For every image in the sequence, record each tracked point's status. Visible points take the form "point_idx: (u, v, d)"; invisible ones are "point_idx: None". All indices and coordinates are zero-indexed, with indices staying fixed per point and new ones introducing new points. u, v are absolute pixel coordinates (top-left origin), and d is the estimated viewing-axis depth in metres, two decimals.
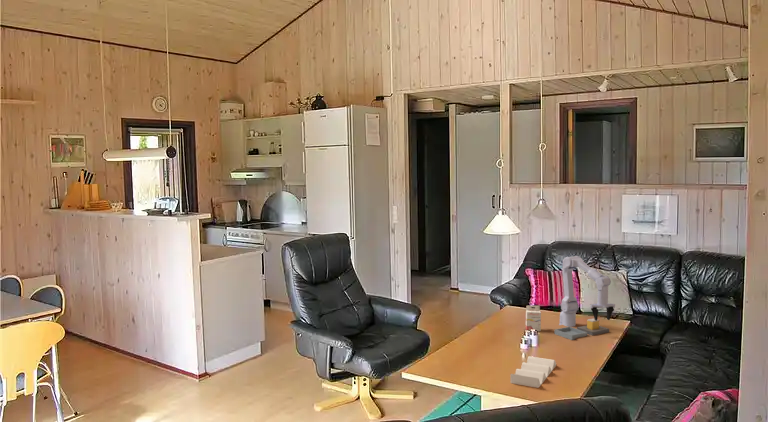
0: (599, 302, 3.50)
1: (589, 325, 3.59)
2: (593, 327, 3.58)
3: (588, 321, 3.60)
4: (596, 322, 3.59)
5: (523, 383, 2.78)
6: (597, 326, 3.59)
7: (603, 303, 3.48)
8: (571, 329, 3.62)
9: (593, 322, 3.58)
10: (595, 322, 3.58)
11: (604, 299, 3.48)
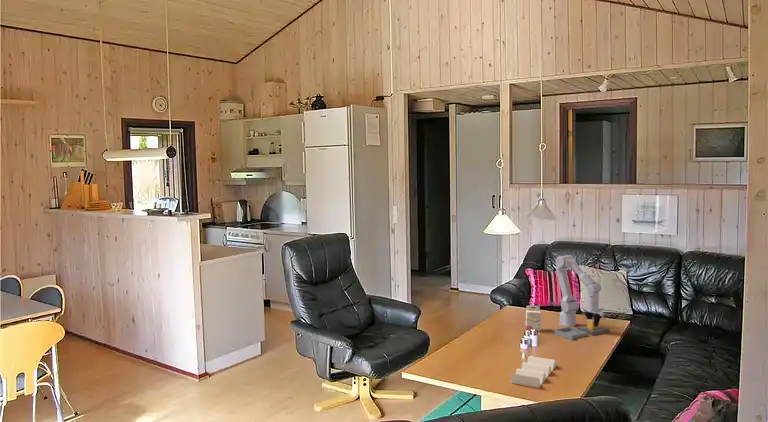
0: None
1: (589, 325, 3.59)
2: (593, 327, 3.58)
3: (588, 321, 3.60)
4: None
5: (523, 383, 2.78)
6: (597, 326, 3.59)
7: (589, 308, 3.59)
8: (571, 329, 3.62)
9: (593, 322, 3.58)
10: None
11: (589, 304, 3.58)
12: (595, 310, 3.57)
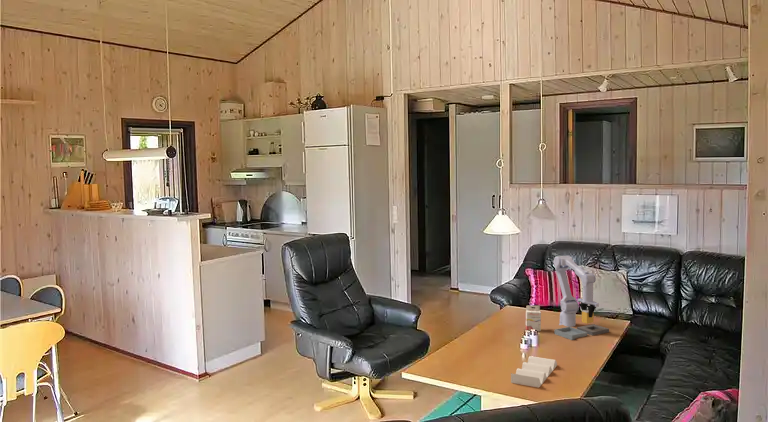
0: None
1: (584, 316, 3.57)
2: (588, 318, 3.56)
3: (583, 312, 3.58)
4: None
5: (523, 383, 2.78)
6: (592, 317, 3.57)
7: (583, 299, 3.57)
8: (571, 329, 3.62)
9: (588, 313, 3.56)
10: None
11: (584, 295, 3.56)
12: (590, 301, 3.55)
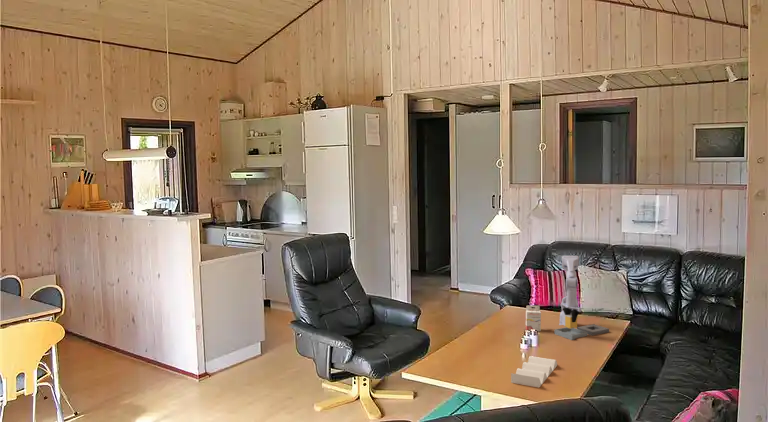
0: None
1: (567, 321, 3.53)
2: (571, 323, 3.52)
3: (566, 317, 3.54)
4: None
5: (524, 383, 2.78)
6: (575, 322, 3.53)
7: (566, 303, 3.53)
8: (571, 329, 3.62)
9: (571, 318, 3.52)
10: None
11: (567, 300, 3.52)
12: (573, 305, 3.51)
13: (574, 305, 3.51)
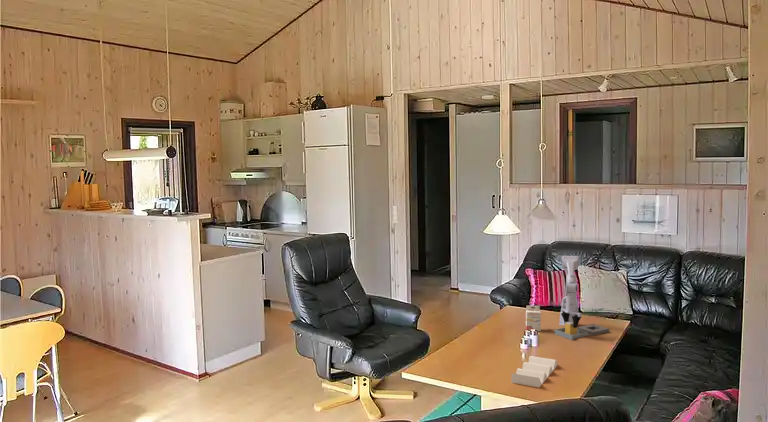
0: None
1: (567, 328, 3.54)
2: (571, 330, 3.52)
3: (566, 324, 3.54)
4: None
5: (524, 383, 2.78)
6: (575, 329, 3.54)
7: (566, 309, 3.53)
8: None
9: (571, 325, 3.52)
10: None
11: (567, 305, 3.52)
12: (573, 311, 3.51)
13: (574, 310, 3.51)
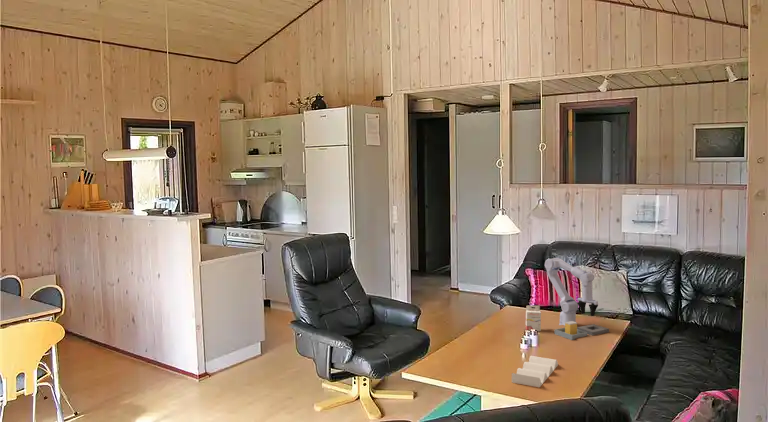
0: None
1: (567, 328, 3.54)
2: (571, 330, 3.52)
3: (566, 324, 3.54)
4: (574, 325, 3.53)
5: (524, 382, 2.78)
6: (575, 329, 3.54)
7: (583, 297, 3.63)
8: None
9: (571, 325, 3.52)
10: (573, 325, 3.53)
11: (583, 294, 3.62)
12: (589, 299, 3.60)
13: (590, 299, 3.61)
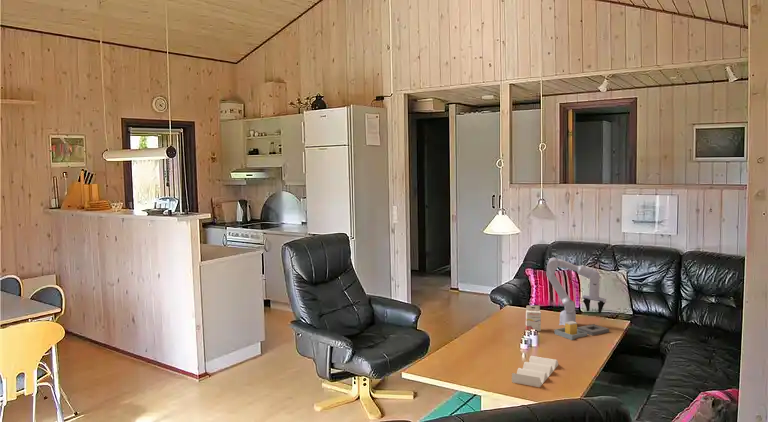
0: (589, 294, 3.70)
1: (567, 328, 3.54)
2: (571, 330, 3.52)
3: (566, 324, 3.54)
4: (574, 325, 3.53)
5: (524, 382, 2.78)
6: (575, 329, 3.54)
7: (590, 295, 3.68)
8: None
9: (571, 325, 3.52)
10: (573, 325, 3.53)
11: (591, 292, 3.67)
12: (597, 297, 3.66)
13: (598, 296, 3.67)
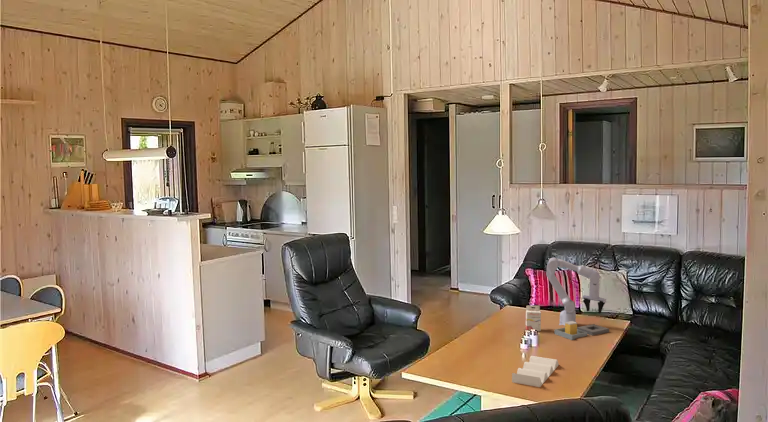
0: (589, 294, 3.70)
1: (567, 328, 3.54)
2: (571, 330, 3.52)
3: (566, 324, 3.54)
4: (574, 325, 3.53)
5: (524, 382, 2.78)
6: (575, 329, 3.54)
7: (590, 295, 3.68)
8: None
9: (571, 325, 3.52)
10: (573, 325, 3.53)
11: (591, 292, 3.67)
12: (597, 297, 3.66)
13: (598, 296, 3.67)
